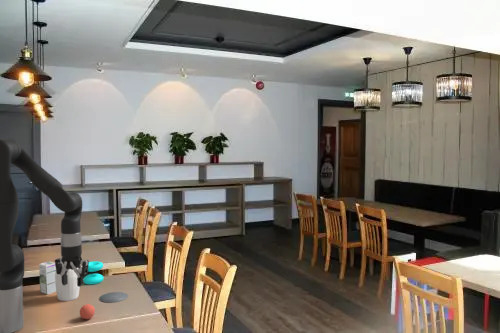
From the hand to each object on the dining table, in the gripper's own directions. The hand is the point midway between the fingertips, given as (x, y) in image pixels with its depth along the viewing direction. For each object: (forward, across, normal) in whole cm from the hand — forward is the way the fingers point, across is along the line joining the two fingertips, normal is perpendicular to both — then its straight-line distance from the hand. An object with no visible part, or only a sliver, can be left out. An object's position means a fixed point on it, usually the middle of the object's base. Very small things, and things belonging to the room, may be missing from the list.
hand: (72, 285), depth 169 cm
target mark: (+18, +2, -33) cm, 38 cm away
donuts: (+18, +24, -50) cm, 59 cm away
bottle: (+18, +23, -28) cm, 40 cm away
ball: (+15, 0, -9) cm, 17 cm away
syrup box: (+18, +37, -32) cm, 52 cm away
